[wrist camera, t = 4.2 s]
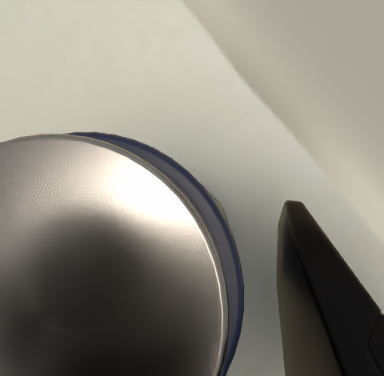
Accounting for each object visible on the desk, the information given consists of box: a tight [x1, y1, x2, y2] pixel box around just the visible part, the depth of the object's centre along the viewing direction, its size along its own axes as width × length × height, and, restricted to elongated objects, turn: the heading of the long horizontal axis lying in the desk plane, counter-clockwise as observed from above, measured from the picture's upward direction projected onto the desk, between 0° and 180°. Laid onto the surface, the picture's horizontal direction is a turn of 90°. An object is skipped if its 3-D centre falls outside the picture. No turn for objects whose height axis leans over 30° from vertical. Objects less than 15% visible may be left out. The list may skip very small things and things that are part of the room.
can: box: [0, 132, 244, 376], centre depth 10 cm, size 4×4×12 cm
